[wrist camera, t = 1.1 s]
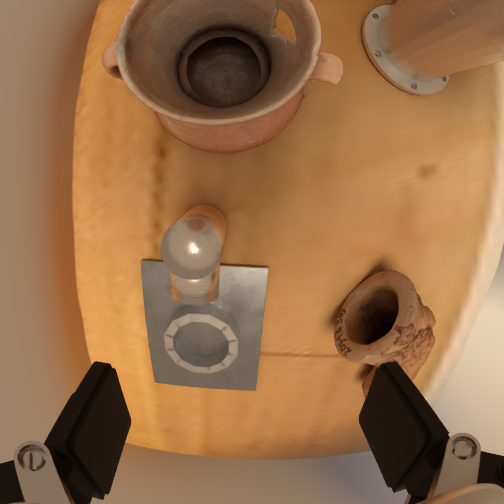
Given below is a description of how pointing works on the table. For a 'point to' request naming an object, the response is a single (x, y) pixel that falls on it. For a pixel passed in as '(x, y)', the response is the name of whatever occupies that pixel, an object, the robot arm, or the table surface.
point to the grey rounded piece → (195, 254)
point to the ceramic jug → (220, 67)
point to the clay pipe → (385, 325)
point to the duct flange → (206, 329)
